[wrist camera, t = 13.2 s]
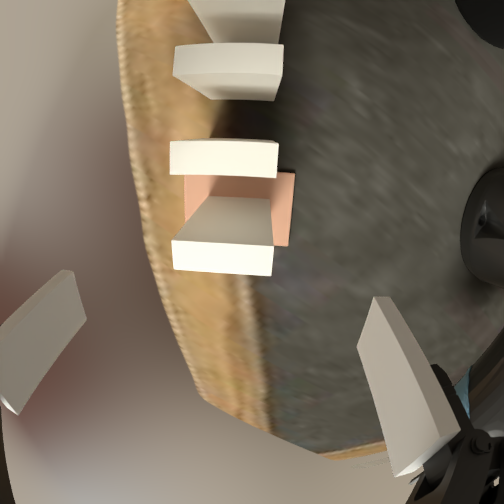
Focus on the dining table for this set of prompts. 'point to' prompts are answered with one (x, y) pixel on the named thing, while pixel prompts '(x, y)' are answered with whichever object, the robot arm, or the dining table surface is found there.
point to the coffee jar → (485, 19)
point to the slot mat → (246, 196)
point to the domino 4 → (227, 237)
